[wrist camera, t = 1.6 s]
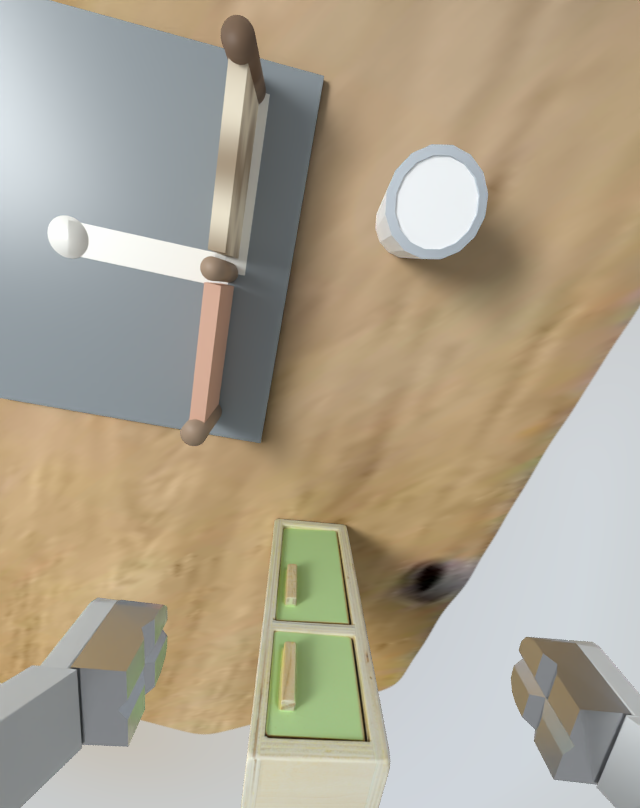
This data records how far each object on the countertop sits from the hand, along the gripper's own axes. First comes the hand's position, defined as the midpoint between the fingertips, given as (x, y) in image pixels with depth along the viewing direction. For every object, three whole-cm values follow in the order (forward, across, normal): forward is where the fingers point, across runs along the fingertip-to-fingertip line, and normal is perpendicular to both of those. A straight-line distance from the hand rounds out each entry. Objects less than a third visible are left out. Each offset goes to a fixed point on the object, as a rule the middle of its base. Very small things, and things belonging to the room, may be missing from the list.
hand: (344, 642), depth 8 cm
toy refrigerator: (+28, 0, +17) cm, 33 cm away
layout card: (+26, +16, -10) cm, 32 cm away
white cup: (+27, -5, -15) cm, 31 cm away
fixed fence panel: (+26, +9, -17) cm, 32 cm away
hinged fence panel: (+26, +10, -3) cm, 28 cm away
